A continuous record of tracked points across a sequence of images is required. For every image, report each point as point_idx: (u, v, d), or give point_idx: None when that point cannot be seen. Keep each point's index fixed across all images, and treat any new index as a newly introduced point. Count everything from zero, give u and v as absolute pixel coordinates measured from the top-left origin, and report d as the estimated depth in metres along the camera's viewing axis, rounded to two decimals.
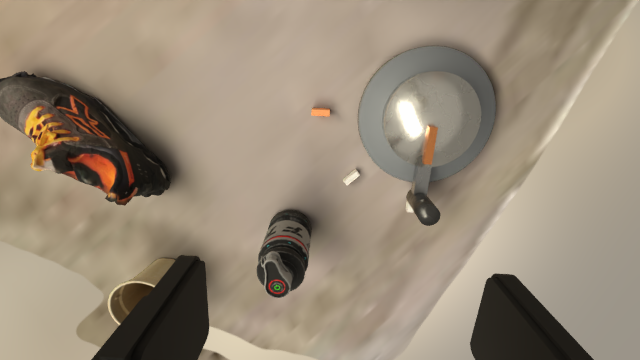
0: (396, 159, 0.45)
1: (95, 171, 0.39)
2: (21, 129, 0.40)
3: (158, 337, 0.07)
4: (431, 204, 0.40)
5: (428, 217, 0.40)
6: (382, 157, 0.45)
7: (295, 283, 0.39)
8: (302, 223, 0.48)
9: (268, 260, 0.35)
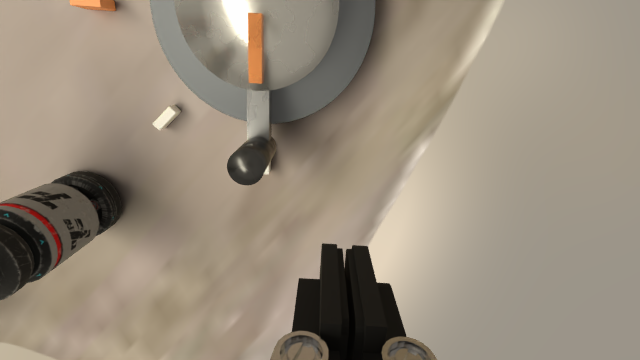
0: (225, 84, 0.28)
1: None
2: None
3: (346, 310, 0.08)
4: (251, 148, 0.23)
5: (244, 170, 0.23)
6: (201, 80, 0.28)
7: (4, 285, 0.22)
8: (93, 190, 0.31)
9: None
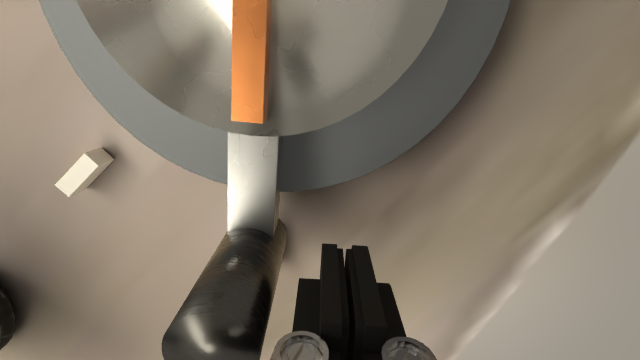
0: None
1: None
2: None
3: (347, 310, 0.08)
4: (228, 296, 0.09)
5: (206, 358, 0.09)
6: (141, 107, 0.13)
7: None
8: None
9: None
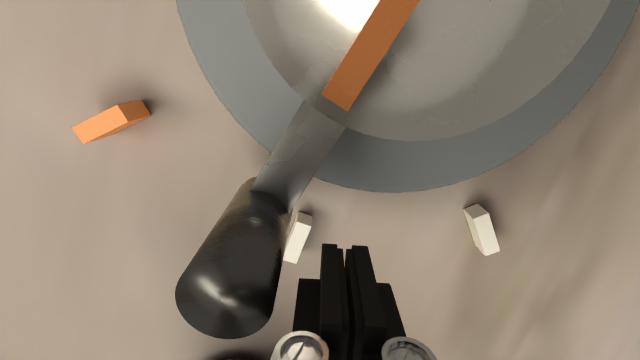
0: (383, 143, 0.14)
1: None
2: None
3: (347, 310, 0.08)
4: (261, 255, 0.09)
5: (217, 303, 0.09)
6: (339, 157, 0.14)
7: None
8: None
9: None
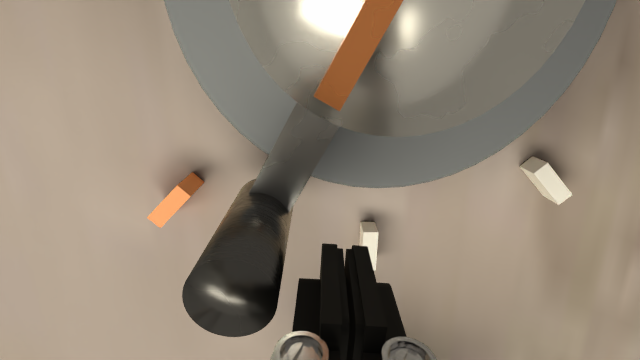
0: (421, 135, 0.14)
1: None
2: None
3: (347, 310, 0.08)
4: (262, 254, 0.09)
5: (223, 303, 0.09)
6: (384, 162, 0.15)
7: None
8: None
9: None
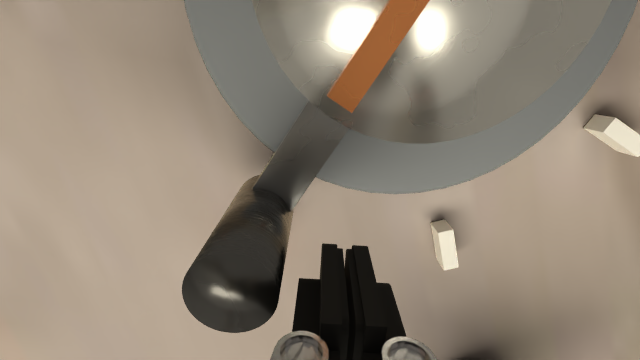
0: None
1: None
2: None
3: (347, 310, 0.08)
4: (266, 250, 0.09)
5: (223, 297, 0.09)
6: (446, 161, 0.15)
7: None
8: None
9: None
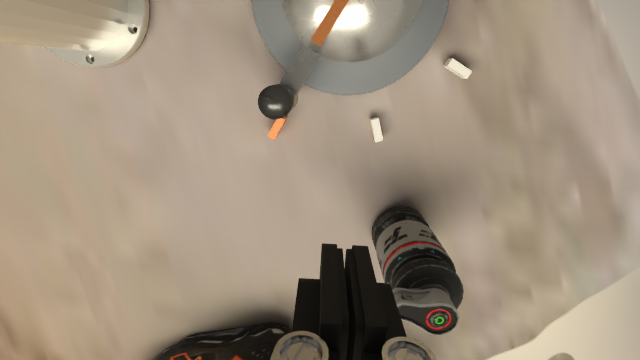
0: (383, 60, 0.31)
1: None
2: None
3: (346, 310, 0.08)
4: (286, 90, 0.26)
5: (272, 104, 0.25)
6: (370, 78, 0.31)
7: (455, 287, 0.26)
8: (397, 217, 0.35)
9: None
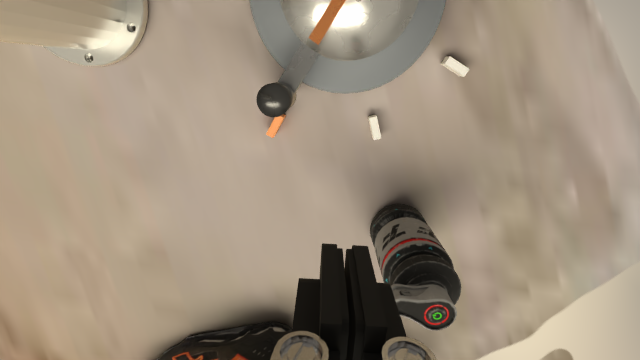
0: (381, 58, 0.31)
1: None
2: None
3: (346, 310, 0.08)
4: (285, 88, 0.26)
5: (270, 101, 0.26)
6: (368, 76, 0.31)
7: (452, 283, 0.27)
8: (396, 215, 0.36)
9: None
